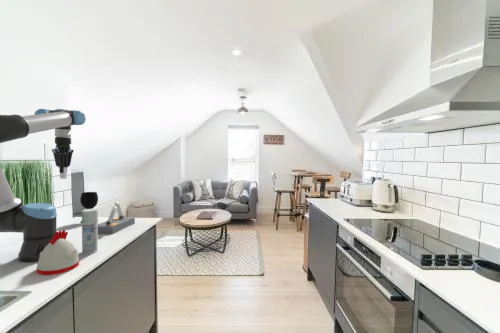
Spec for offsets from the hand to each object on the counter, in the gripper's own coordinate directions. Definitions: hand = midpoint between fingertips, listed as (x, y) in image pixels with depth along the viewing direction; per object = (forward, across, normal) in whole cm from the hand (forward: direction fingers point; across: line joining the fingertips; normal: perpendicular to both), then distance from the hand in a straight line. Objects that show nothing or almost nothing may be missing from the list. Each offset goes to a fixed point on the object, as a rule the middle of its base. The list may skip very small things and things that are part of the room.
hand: (63, 178), depth 148 cm
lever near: (+28, +11, -20) cm, 36 cm away
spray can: (+33, -22, -33) cm, 51 cm away
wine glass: (+33, +30, +7) cm, 45 cm away
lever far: (+28, +25, -20) cm, 43 cm away
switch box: (+32, +18, -20) cm, 42 cm away
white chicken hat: (+33, -40, -33) cm, 61 cm away
